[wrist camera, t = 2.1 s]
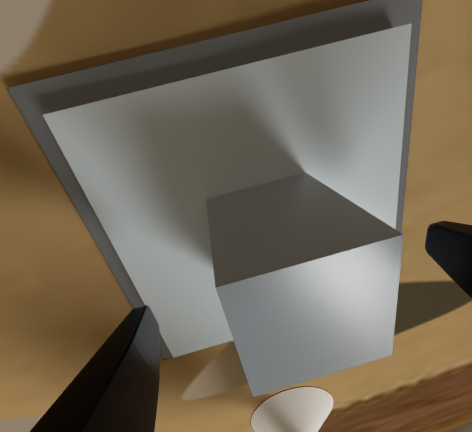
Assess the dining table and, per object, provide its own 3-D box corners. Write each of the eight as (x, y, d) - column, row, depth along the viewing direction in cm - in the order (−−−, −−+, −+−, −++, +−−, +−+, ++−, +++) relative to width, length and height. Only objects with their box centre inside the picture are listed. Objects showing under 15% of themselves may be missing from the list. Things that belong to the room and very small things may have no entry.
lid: (393, 29, 9) (694, -81, 3) (380, 284, 14) (490, 392, 9) (55, 113, 8) (-187, 133, 3) (174, 344, 13) (161, 496, 8)
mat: (414, -9, 9) (423, -14, 8) (390, 287, 15) (395, 292, 14) (15, 88, 8) (7, 88, 8) (163, 353, 14) (163, 360, 14)
